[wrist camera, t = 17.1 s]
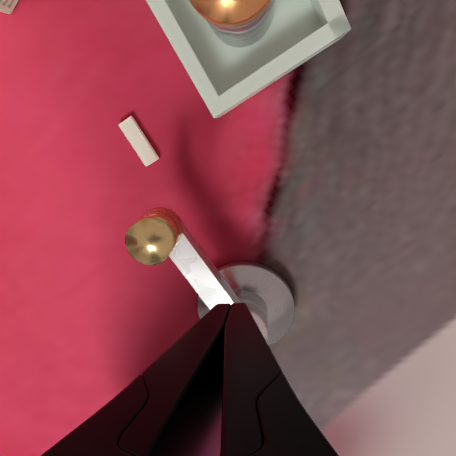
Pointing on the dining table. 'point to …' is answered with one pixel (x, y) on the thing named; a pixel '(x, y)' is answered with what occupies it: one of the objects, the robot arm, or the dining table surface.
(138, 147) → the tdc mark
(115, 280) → the dining table surface
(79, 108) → the dining table surface
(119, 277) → the dining table surface
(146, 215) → the crank
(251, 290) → the crank base
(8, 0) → the skincare box
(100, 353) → the dining table surface
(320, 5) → the tray
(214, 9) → the glass jar
